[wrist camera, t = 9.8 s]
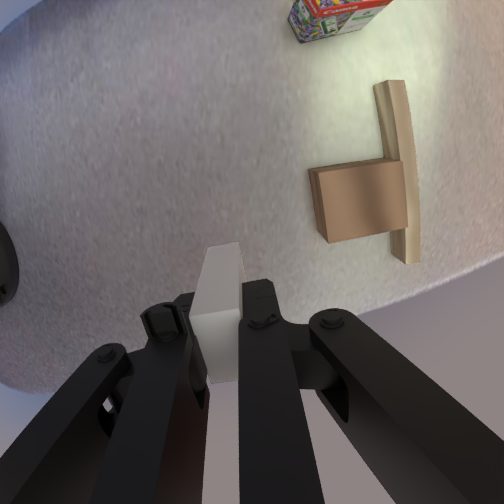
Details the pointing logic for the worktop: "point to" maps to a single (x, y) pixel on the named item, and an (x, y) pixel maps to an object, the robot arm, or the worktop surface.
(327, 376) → the robot arm
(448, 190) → the worktop surface
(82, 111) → the worktop surface
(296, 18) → the ink box
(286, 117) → the worktop surface
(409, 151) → the birch board
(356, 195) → the walnut block
